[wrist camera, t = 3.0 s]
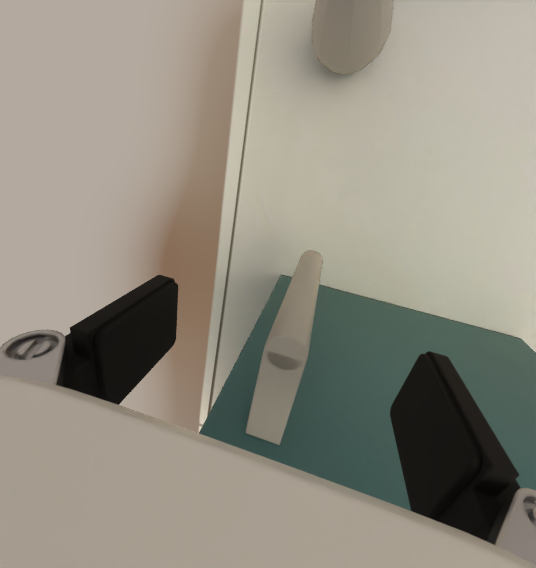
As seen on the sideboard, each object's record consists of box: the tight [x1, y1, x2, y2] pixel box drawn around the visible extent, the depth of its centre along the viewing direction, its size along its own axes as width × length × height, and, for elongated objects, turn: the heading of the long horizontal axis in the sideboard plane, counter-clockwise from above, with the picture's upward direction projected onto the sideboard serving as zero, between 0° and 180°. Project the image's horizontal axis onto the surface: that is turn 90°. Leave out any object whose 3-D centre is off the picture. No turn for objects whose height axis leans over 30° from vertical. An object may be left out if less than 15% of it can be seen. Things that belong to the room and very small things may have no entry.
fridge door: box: [199, 250, 536, 511], centre depth 18 cm, size 8×26×24 cm, turn 79°
